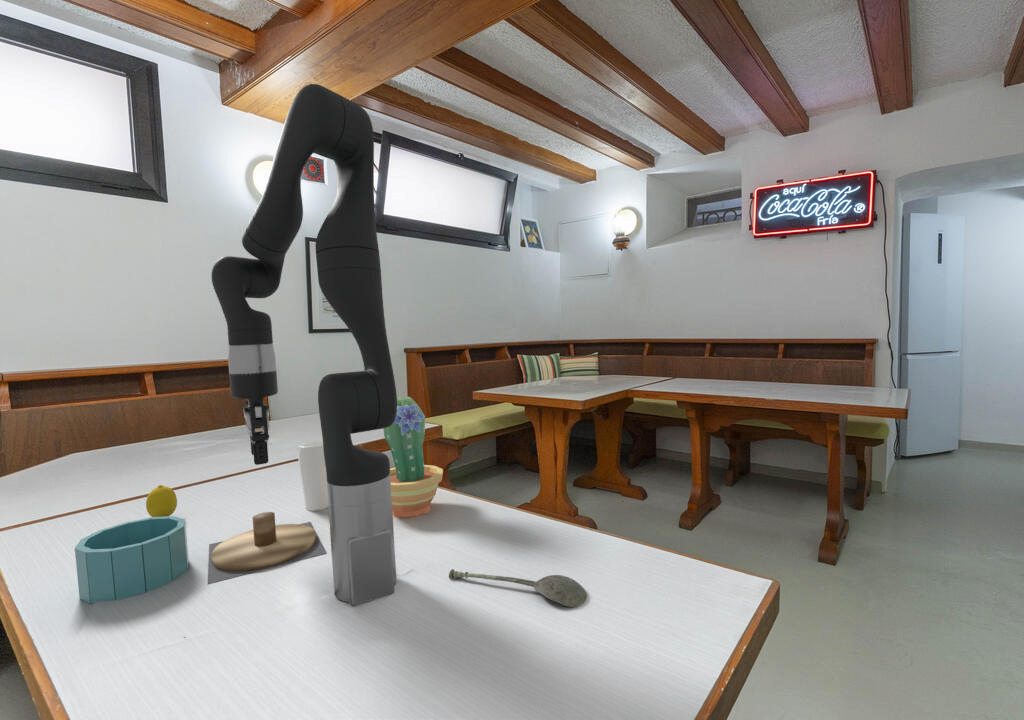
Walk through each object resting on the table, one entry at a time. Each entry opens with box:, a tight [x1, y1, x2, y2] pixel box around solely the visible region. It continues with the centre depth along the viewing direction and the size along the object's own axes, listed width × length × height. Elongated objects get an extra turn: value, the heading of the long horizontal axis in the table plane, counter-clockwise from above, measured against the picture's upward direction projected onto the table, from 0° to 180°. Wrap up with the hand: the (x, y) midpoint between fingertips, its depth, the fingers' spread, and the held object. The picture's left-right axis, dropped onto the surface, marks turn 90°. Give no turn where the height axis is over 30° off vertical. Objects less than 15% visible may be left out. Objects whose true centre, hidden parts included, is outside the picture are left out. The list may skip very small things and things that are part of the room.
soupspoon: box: [448, 568, 588, 608], centre depth 73 cm, size 22×3×7 cm
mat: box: [206, 521, 328, 585], centre depth 89 cm, size 18×18×1 cm
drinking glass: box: [297, 439, 329, 512], centre depth 111 cm, size 7×7×15 cm
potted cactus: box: [383, 396, 444, 518], centre depth 107 cm, size 15×15×25 cm
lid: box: [211, 511, 316, 571], centre depth 89 cm, size 17×17×6 cm
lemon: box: [145, 484, 178, 518], centre depth 107 cm, size 6×6×8 cm
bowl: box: [74, 515, 190, 605], centre depth 80 cm, size 14×14×8 cm
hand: (259, 458), depth 89 cm, fingers open, 8 cm apart
